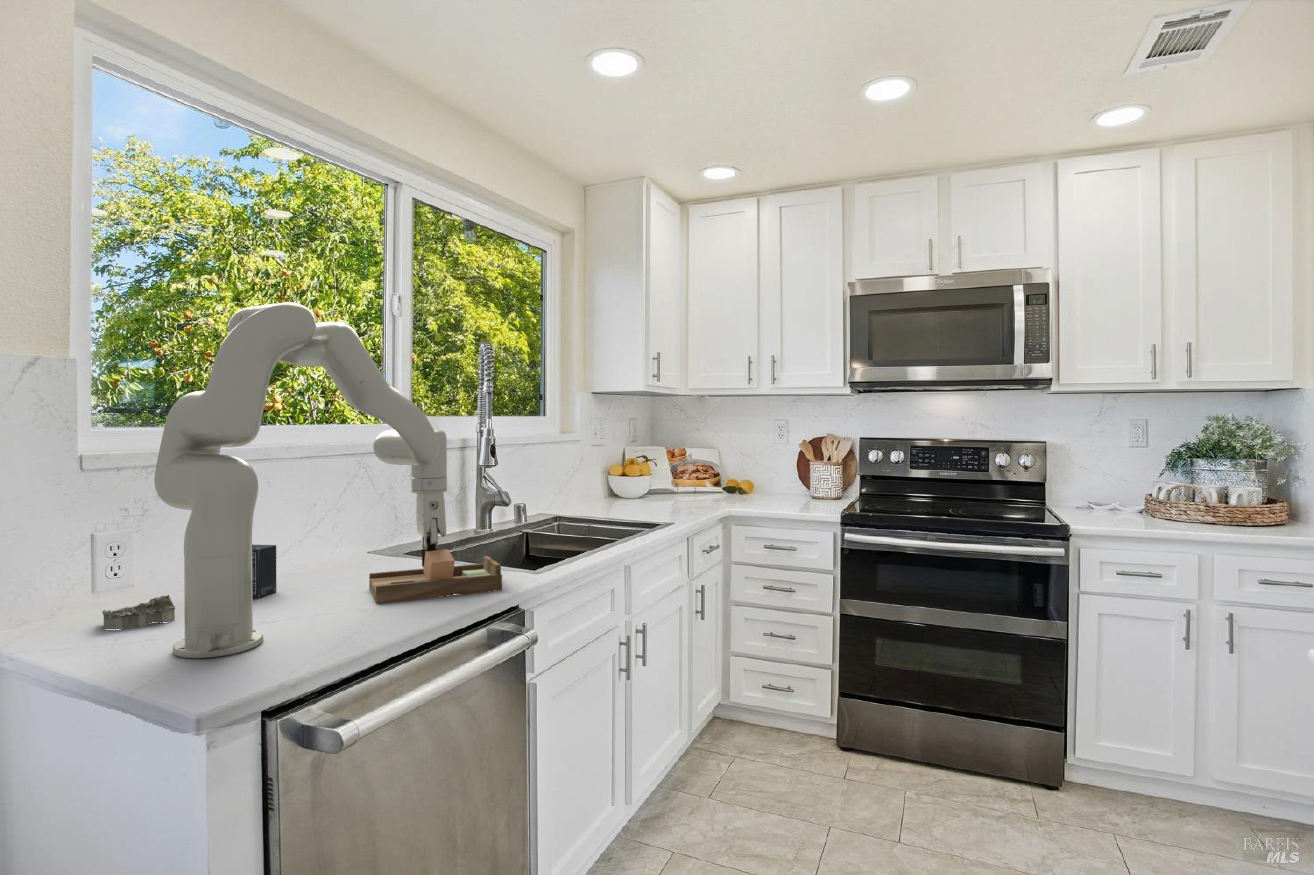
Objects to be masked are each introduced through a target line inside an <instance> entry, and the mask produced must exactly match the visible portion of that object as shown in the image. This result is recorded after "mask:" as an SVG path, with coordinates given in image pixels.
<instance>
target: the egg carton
mask: <svg viewBox="0 0 1314 875" xmlns="http://www.w3.org/2000/svg"><path fill="white" fill-rule="evenodd" d="M176 609H177V608H176V606H175V605H174V604H173V601H172V599H171V596H170V595H169V594H168V595H160V596H159V597H154V598H150V600H149V601H148V602H139V604H137V605H133V606H126V607H121V608H118V609H117V610H112V611H111V609H109V610H105V609H104V610H102V614H103V627H104V629H115V630H116V629H122V630H124V629H127V628H126V627H128V628H131V627H130V626H138V627H137V628H143V627H142V626H144V627H146V626H148V625H147V624H149V623H152V622H161V623H163V622H168V623H170V622H172V621H171V620H173V621H175V619H176V616H175V614H176V612H175V610H176ZM169 621H170V622H169ZM161 623H160V624H161ZM149 625H150V624H149ZM123 628H124V629H123Z"/></svg>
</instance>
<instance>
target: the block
mask: <svg viewBox="0 0 1314 875" xmlns="http://www.w3.org/2000/svg"><path fill="white" fill-rule="evenodd" d="M455 562H456V560H455V558H454V556H453V555H452V553H451V552H450V550H449V549H438V550H435V551H425V560H424V568H422V569H423V572H424V574H425V576H426V578H427V580H428V581H430V580H441V579H452V578H453V571H454V566H455Z"/></svg>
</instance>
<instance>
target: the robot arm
mask: <svg viewBox="0 0 1314 875" xmlns="http://www.w3.org/2000/svg"><path fill="white" fill-rule="evenodd" d="M227 332H228V333H227V335H226V336H225V338H224V339H223V341H222V342H221V344H220V346H219V348H218V349H217V352H216V355H215V357H214V360H213V365H212V366H211V372H210V375H209V377H208V378H209V379H208V383H207V386H206V388H205V390H196V391H193V392H192V391H191V392H189V393H187V394H184V395H183V396H181V397H180V398H179V399H177V400H176V401H175V403H174V404H173V405H172V407H171V408H170V409H169V412H168V414H167V416H166V418H165V423H164V427H163V432H162V436H161V441H160V445H159V451H158V455H157V459H156V460H157V461H156V464H155V465H156V466H155V470H154V479H153V480H154V481H153V482H154V488H155V491H156V494H157V495H158V497H159V499H161V501H162V502H164V504H166V505H167V506H170V507H171V508H175V509H180V510H186V511H190V516H189V518H188V521H187V524H186V528H185V532H184V538H183V556H184V559H183V561H184V563H183V564H184V568H183V569H184V572H183V573H184V574H183V578H184V584H183V585H184V588H183V589H184V637H183V638H181V639H179V640H178V641H176V642H175V643H174V644H173V646H172V654H174V655H175V656H177V657H180V658H185V659H206V658H216V657H217V658H218V657H222V656H223V657H224V656H229V655H235V654H238V653H241V652H245V651H249V650H251V649H253V648H254V649H255V648H256V647H258V646H259V645H260V644H262V642H263V641H264V634H263V632H262V631H260V630H258V629H254V628H253V623H254V622H253V598H252V545H253V525H254V522H253V521H254V514H255V509H256V503H257V499H258V496H259V495H258V494H259V479H258V476H257V473H256V472H255V469H254V468H253V467H252V466H251V464H249V463H248V462H246V461H245V460H243V459H241V458H239V457H236V456H233V455H228V454H220V452H221V449H222V448H235V447H242V446H246V445H249V444H250V443H251V442H253V441H254V440H255V439H256V438H257V436H258V434H259V431H260V428H261V424H262V419H263V415H264V409H265V404H266V400H267V399H266V398H267V393H268V387H269V384H270V380H271V376H272V373H273V370H274V369H275V366H276V365H278V364H277V363H278V362H280V363H284V364H289V365H294V366H300V367H305V368H315V367H316V368H317V367H320V368H321V367H323V369H324V370H325V372H326V373H327V375H328V376H329V377H330V379H331V380H332V382H333V383H334V385H335V386H336V388H337V389H338V391H339V392H340V394H341V395H342V397H343V399H344V400H345V401H346V403H347V404H348V405H349V406H350V407H351V408H354V409H356V410H357V411H359V412H361V413H364V414H366V415H368V416H371V417H373V418H375V419H377V420H380V421H382V422H384V423H385V424H387V425H388V426H390V428H392V429H387V430H384V431H383V432H380V433H379V435H378V436H377V437H375V439H374V442H373V445H372V446H373V447H372V448H373V452H374V455H375V456H376V457H377V459H378V460H380V461H381V462H383V463H384V464H388V465H393V466H394V465H398V466H399V465H400V466H404V465H405V466H411V467H410V468H411V472H410V473H411V478H410V479H411V493H413V494H414V493H415V494H416V509H415V510H416V531H417V533H418V534H419V535H421V542H422V543H421V546H422V547H421V548H422V549H421V567H423V568H422V569H424V560H425V551H435V550H439V547H438V546H439V544H438V543H439V535H440V536H441V537H442V538H443V537H444V538H445V536H446V535H447V521H446V520H447V518H446V505H445V493H446V492H447V491H448V468H447V466H448V463H447V462H448V459H447V458H448V456H447V453H448V452H447V444H448V443H447V442H448V441H447V434H446V433H445V431H443V430H441V429H434V427H433V426H432V424H431V422H430V421H429V419H428V417H427V416H426V415H425V413H424V412H423V411H422V410H421V408H419V406H417V405H416V404H415V403H414V402H413V401H411V400H410V399H409V398H408V397H406V396H405V395H404V394H403V393H401V392H400V391H399V390H397V388H395V387H393V386H392V385H391V384H389V383H388V381H387V380H386V379H385V377H384V376H383V374H382V373H381V371H380V368H378V366H377V364H376V363H375V361H374V360H373V358H372V356H371V355H370V353H369V351H368V350H367V348H366V346H365V345H364V343H363V342H362V340H361V338H360V337H359V335H358V333H357V332H356V331H355V329H353V327H351V325H349V324H347V323H344V322H340V321H327V322H325V321H324V322H316V318H315V315H314V312H312V311H311V309H309V308H308V307H306V306H305V305H302V304H299V303H296V302H281V303H270V304H266V305H265V304H264V305H256V306H248V307H244V308H241V309H239V310H237V311H236V312H234V313H233V314H232V315H231V317H230V319H229V320H228V324H227Z"/></svg>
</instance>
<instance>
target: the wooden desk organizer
mask: <svg viewBox="0 0 1314 875" xmlns="http://www.w3.org/2000/svg"><path fill="white" fill-rule="evenodd" d="M482 557H483V558H482V563H473V564H464V565H454V571H453V578H452V579H441V580H430V581H428V580H427V578H426V576H425V574H424V572H423V569H424V568H416V569H404V570H392V571H391V570H390V571H381V572H369V576H368V578H369V580H368V582H369V584H368V586H369V587H368V588H369V589H368V590H369V591H370V594H371V595H372V596H371V597H373V600H374V602H375V603H376V605H377V604H385V603H395V602H394V601H397V602H403V601H413V600H414V601H415V600H424V598H425V599H432V598H431V597H435V598H440V597H439V596H445V597H448V596H447V595H453V594H464V595H471V594H482V592H483V593H489V592H488V591H493V592H495V591H494V590H502V591H503V574H502V567H501V566H502V564H500V563H499V562H497V561H496V560H494V559H493V558H492V557H490V556H488V555H483V556H482Z"/></svg>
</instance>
